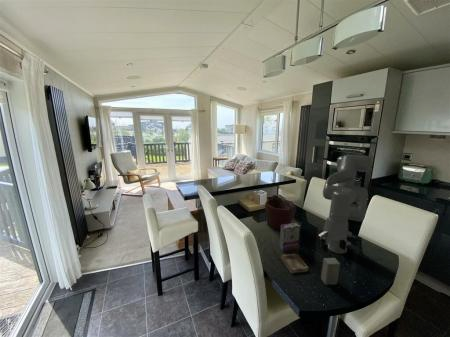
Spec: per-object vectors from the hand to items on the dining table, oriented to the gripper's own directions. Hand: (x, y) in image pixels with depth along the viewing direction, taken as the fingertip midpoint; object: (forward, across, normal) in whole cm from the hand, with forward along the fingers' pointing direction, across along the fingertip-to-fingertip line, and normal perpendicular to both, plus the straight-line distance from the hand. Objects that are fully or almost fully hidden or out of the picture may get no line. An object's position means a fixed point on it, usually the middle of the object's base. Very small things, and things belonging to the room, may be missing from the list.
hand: (333, 249), depth 92 cm
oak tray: (+18, +11, -14) cm, 25 cm away
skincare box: (+19, 0, 0) cm, 19 cm away
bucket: (+18, +1, -56) cm, 59 cm away
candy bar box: (+18, +7, -28) cm, 34 cm away
